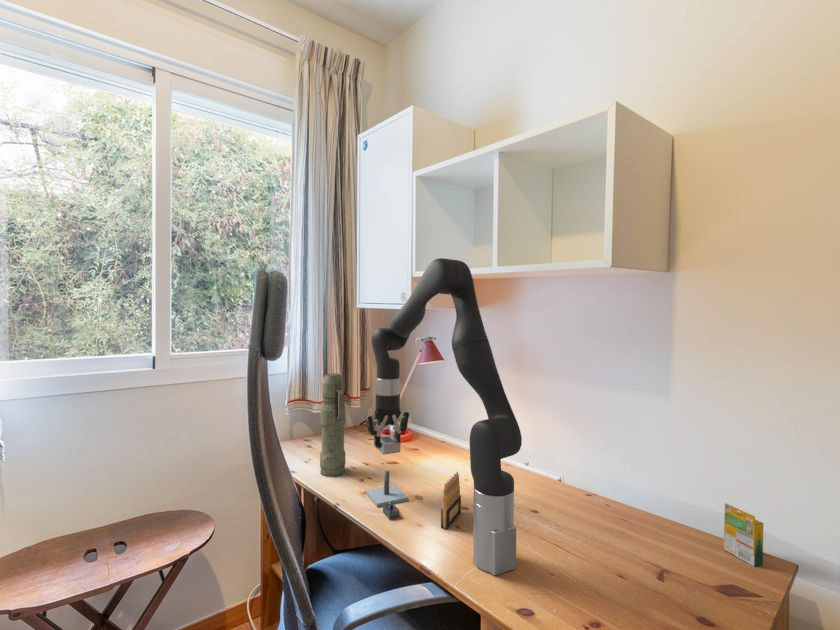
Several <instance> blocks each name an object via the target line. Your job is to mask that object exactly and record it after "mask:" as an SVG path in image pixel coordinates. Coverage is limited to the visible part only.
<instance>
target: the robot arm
mask: <svg viewBox="0 0 840 630" xmlns="http://www.w3.org/2000/svg"><path fill="white" fill-rule="evenodd" d="M471 271H472V270H471V269H470V267H469V266H468V264H467V263H466V262H464V261H462V260H457V259H451V258H450V259H449V258H441V257H440V258H436V259H433V260H432V261H431V262H430V263H429V264H428V265H427V267H426V269H425V270H424V272H423V273H422V276H421V277H420V279H419V280H418V282H417V283H416V285H415V287H414V288H413V291H412V292H411V294H410V296H409V298H408V299H407V301H406V302H405V303H404V304H403V306H402V307H401V308H400V309H399V310H398V311H397V312H396V313H395V314H394V315H393V317H392V318H391V320H390V322H389V327H381V328H380V327H379V328H377V329H375V330H374V331H373V333H372V335H371V347H372V350H373V353H374V358H375V363H376V381H375V382H376V383H375V411H374V413H371V414H368V413H367V414H365V420H366V421H365V422H366V426H367V432H368V433H369V434H370V435H371V436H373V444H374V447H375V446H376V447H377V448H380V438H381V437H380V436H381V433H382V431H383V430H384V429H385V427H386V426H392V427H393V429H394V433H393V437H394V438H395V439H396V440H398V441H399V442H401V434H402V432H406V431H407V429H408V423H409V418H410V417H409V416H410V412H408V411H406V410H401V408H400V407H401V380H400V370H401V369H400V361H399V359H398V358H394V357H390V354H389V352H388V351H398V350H401V349H402V348H403V347H405V345H406V344H407V342H408V340H409V338H410V335H411V333H413V331H414V330H415V329H417V327H419V325H420V324H421V323H422V322H423V320H424V318H425V315H426V310H427V309H426V307H427V304H428V302H430V300H432V299H433V298H434V297H435V296H437V295H439V294H441V295H450V296H451V299H452V300H453V305H454V308H455V313H456V314H455V316H456V318H455V322H454V323H455V324H454V327H453V330H452V331H453V332H452V336H451V349H452V352H453V356H454V360H455V363H456V366H457V369H458V371H459V373H460V374H461V376H462V377H463V378H464V380H465V381H466V382H467V383H468V385H469V386H471V388H472V389H473V390H474V391H475V393H476V394H477V395H478V396H479V398H480V400H481V402H482V404H483V406H484V409H485V412H486V416H487V419H483V420H479V421H476V422H475V423H474V424H473V426H472V427H471V430H470V433H469V434H470V435H469V458H470V459H469V460H470V461H469V462H470V465H469V466H470V472H471V473H470V474H471V476H472V480H473V520H472V521H473V522H472V523H473V533H472V534H473V535H472V536H473V537H472V538H473V540H472V543H473V548H472V550H473V552H472V555H473V556H472V558H473V559H472V560H473V563H474V565H475V566H476V567H477V568H478V569H480V570H482V571H484V572H487V573H490V574H491V575H493V576H498V575H500V574H503V573H507V572H510V571H513V570H515V569H517V527H516V526H515V525H514V522H515V514H514V513H515V479H514V476H513V475H512V474H510V473H509V472H507V471H505V470H502V462H501V460H502V459H506V458H508V457H512V456H515V455H516V454H518V453H519V452H520V450H521V447H522V445H523V444H522V442H523V441H522V440H523V439H522V438H523V436H522V433H521V428H520V426H519V423H518V421H517V417H516V416H515V413H514V411H513V408H512V406H511V404H510V402H509V399H508V397H507V394H506V392H505V389H504V385H503V384H502V381H501V377H500V374H499V372H498V368H497V366H496V362H495V361H496V360H495V358H494V355H493V351H492V347H491V345H490V341H489V338H488V336H487V333H486V330H485V327H484V326H485V325H484V322H483V319H482V315H481V311H480V308H479V304H478V299H477V294H476V288H475V284H474V279H473V275H472V272H471ZM400 417H401V420H400V424H399V421H398V419H399V418H400ZM375 419H376V420H377V421H376V424H375V427H374V423H373V422H374V421H375ZM376 447H375V448H376ZM377 448H376V449H377Z"/></svg>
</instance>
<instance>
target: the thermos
mask: <svg viewBox="0 0 840 630" xmlns="http://www.w3.org/2000/svg"><path fill="white" fill-rule="evenodd" d="M321 383H322V384H321V387H322V388H321V398H322V400H321V406H320V412H319V413H320V415H319V417H320V420H319V421H320V423H319V424H320V426H321V450H320V454H319V467H320V475H321V476H323V477H329V478H330V477H334V478H335V477H338V476H342V475H344V474H345V472H346V468H345V467H346V450H345V424H346V406H345V402H344V400H345V397H344V396H345V395H344V394H345V393H344V392H345V388H344V387H345V386H344V385H345V383H344V379H343V376H342V374H340V373H326V374H325V375H324V377H323V379H322V382H321Z"/></svg>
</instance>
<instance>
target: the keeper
mask: <svg viewBox="0 0 840 630" xmlns="http://www.w3.org/2000/svg"><path fill="white" fill-rule="evenodd" d="M383 472H384V473H383V487H378V488H373V489H368V490H365V495H366V496H367V497H368V498H369V499H370V501H371V502H372V503H373V504H374V505H375V506H376V508H380V507H383V505H385V504H389V501H393V504H394V505H395V504H398V503H402V502H408V501H409V496H407V495H406V494H405V493H404V492H403V490H401V488H399V487H398V486H397V485H396V484H394V485H393V484H392V485H390V470H384V471H383Z"/></svg>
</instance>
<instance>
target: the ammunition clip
mask: <svg viewBox="0 0 840 630" xmlns="http://www.w3.org/2000/svg"><path fill="white" fill-rule="evenodd" d="M442 492H443V493H442V502H441V503H442V505H441V507H442V508H441V509H440V511H441V512H440V529H444V530H448V529H450V527H451V526H452V525H453V524H454V522H455V521H456V519H457V518H458V517H459V516H460V515H461V513H462V496H461V486H460V475H459V472H458V471H456V472H455V474H453V476H451V478H449V480H447V481H446V482H445V483H444V485H443V491H442Z"/></svg>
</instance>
